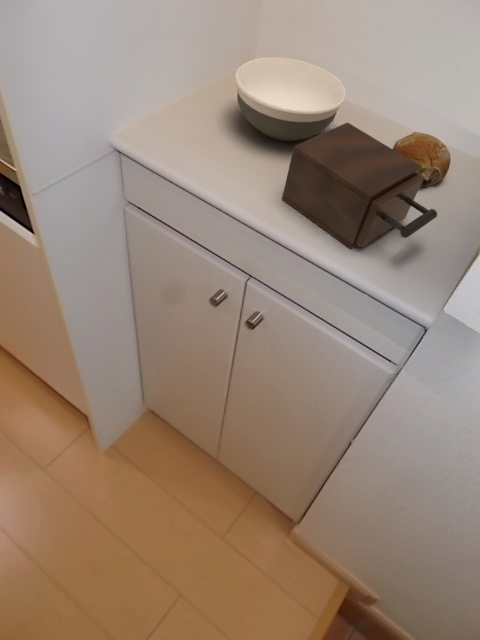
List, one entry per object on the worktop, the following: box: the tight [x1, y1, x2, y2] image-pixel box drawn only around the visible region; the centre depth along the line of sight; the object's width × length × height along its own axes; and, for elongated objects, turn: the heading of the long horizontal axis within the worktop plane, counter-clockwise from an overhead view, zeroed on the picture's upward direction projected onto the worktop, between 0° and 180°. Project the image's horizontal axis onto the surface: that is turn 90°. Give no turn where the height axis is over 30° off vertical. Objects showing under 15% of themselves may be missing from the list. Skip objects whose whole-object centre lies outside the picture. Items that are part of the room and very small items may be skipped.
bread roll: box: [392, 131, 451, 187], centre depth 87 cm, size 10×10×8 cm
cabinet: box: [281, 122, 421, 250], centre depth 76 cm, size 14×12×9 cm
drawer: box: [355, 174, 438, 248], centre depth 75 cm, size 17×11×7 cm, turn 44°
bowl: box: [234, 56, 347, 142], centre depth 90 cm, size 19×19×8 cm
